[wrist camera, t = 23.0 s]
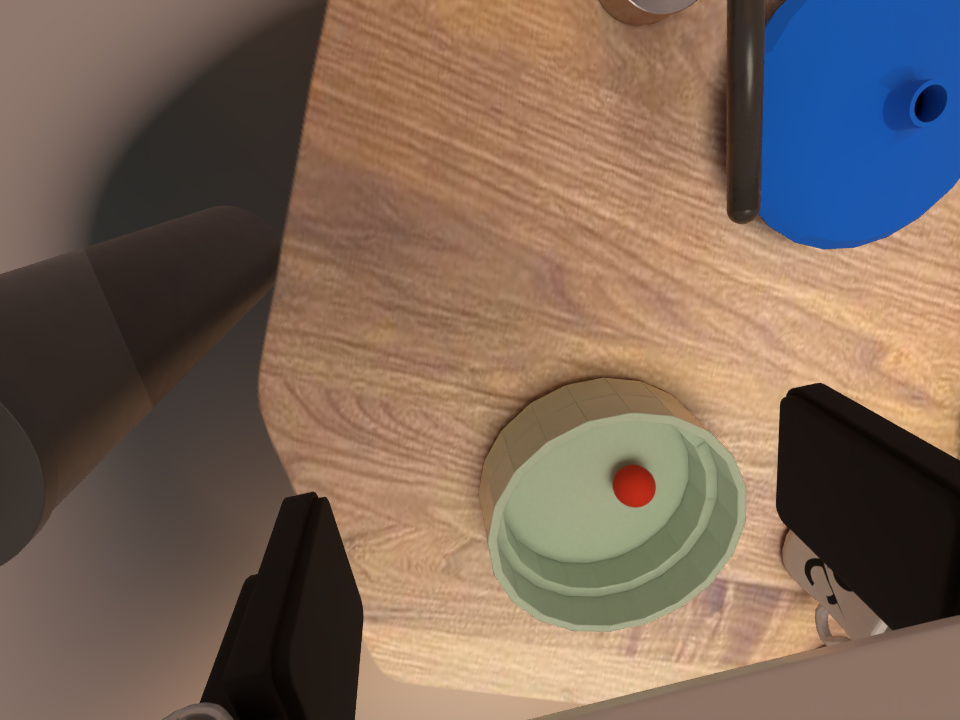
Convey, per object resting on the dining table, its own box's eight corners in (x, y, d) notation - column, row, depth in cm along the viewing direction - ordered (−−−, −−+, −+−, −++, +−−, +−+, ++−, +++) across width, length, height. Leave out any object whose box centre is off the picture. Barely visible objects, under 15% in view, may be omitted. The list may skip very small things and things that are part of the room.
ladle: (584, -98, 29) (675, -225, 19) (697, -116, 29) (844, -251, 19) (608, 210, 35) (687, 238, 25) (701, 193, 35) (816, 213, 25)
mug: (799, 488, 44) (900, 579, 35) (898, 494, 46) (1021, 583, 36) (750, 608, 48) (830, 717, 39) (842, 610, 50) (940, 716, 41)
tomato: (612, 460, 39) (613, 466, 42) (610, 504, 38) (612, 507, 41) (656, 463, 38) (655, 468, 41) (656, 507, 38) (655, 510, 40)
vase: (675, 34, 31) (744, 5, 25) (941, -97, 30) (1085, -163, 24) (740, 281, 37) (810, 310, 31) (965, 177, 36) (1086, 185, 30)
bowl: (497, 590, 45) (509, 654, 39) (460, 401, 38) (468, 445, 33) (703, 546, 45) (744, 602, 40) (701, 353, 39) (749, 388, 33)
